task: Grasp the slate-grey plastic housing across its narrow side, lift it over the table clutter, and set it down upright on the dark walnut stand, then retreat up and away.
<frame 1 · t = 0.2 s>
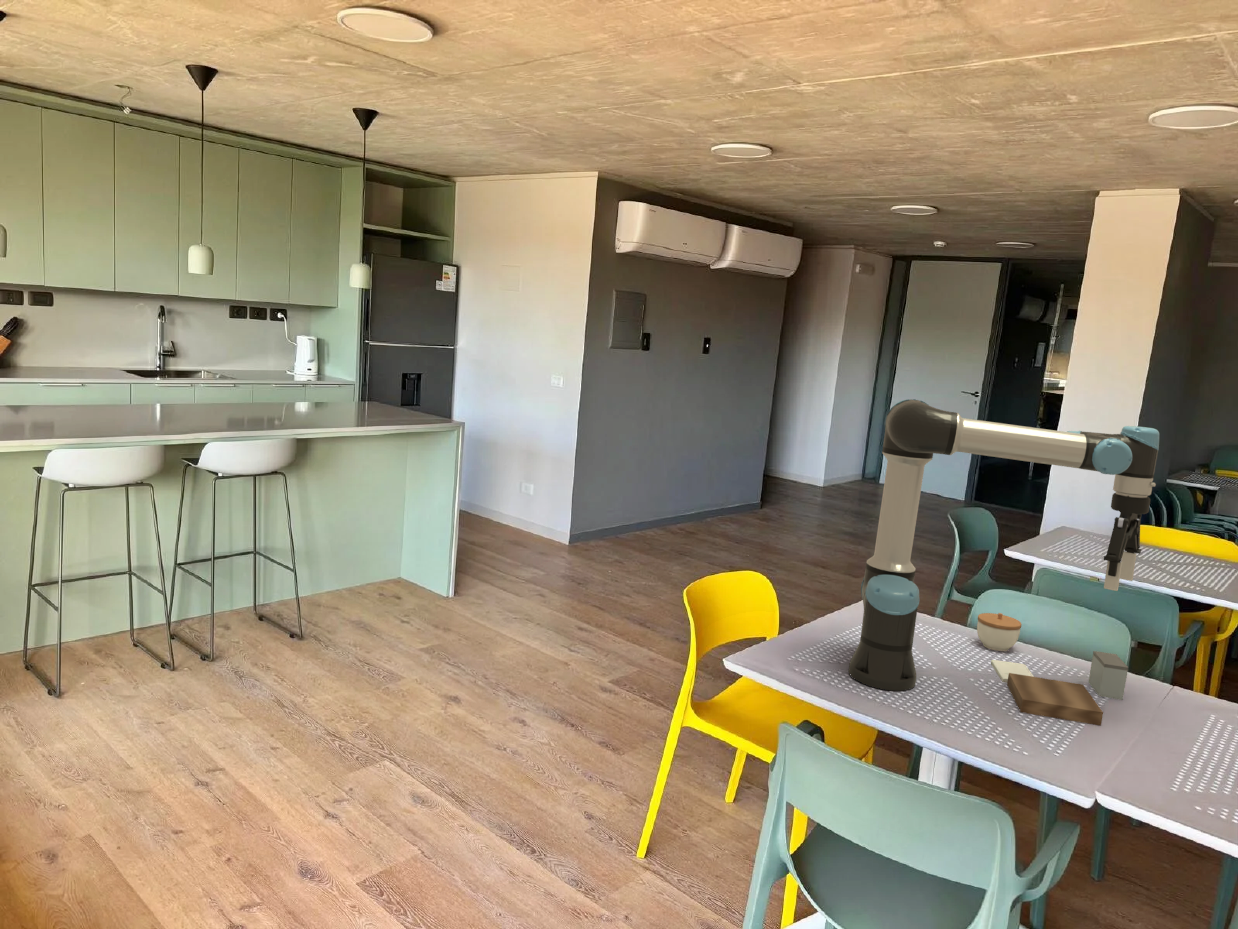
hand: (1118, 584, 198), 26 cm above the table, fingers open, 13 cm apart
external hard drive: (1013, 677, 209), on the table
walnut stand: (1051, 704, 192), on the table
lidded jar: (995, 648, 228), on the table
housing: (1105, 691, 203), on the table
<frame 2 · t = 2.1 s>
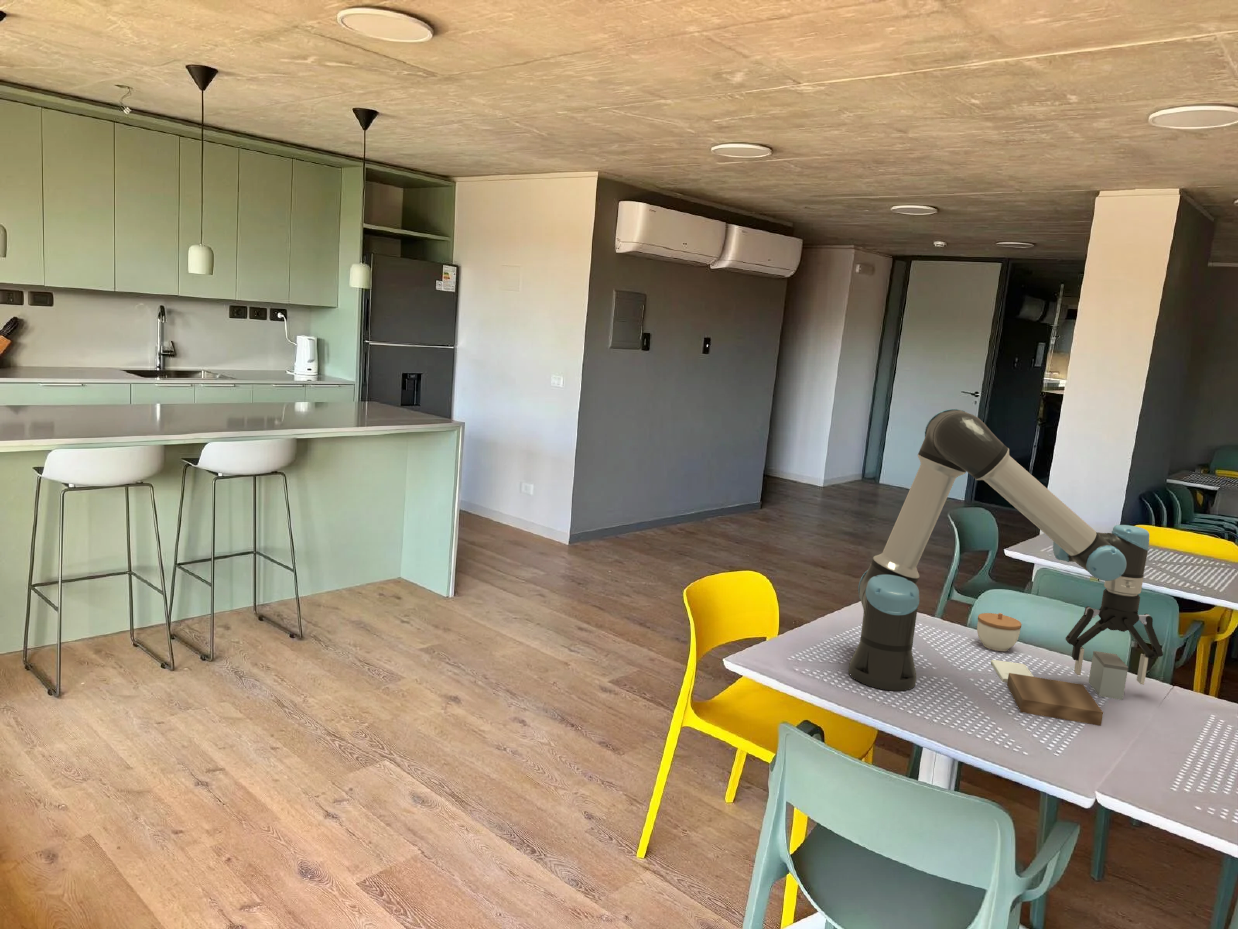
hand: (1108, 678, 203), 3 cm above the table, fingers open, 13 cm apart
nothing on the table moved.
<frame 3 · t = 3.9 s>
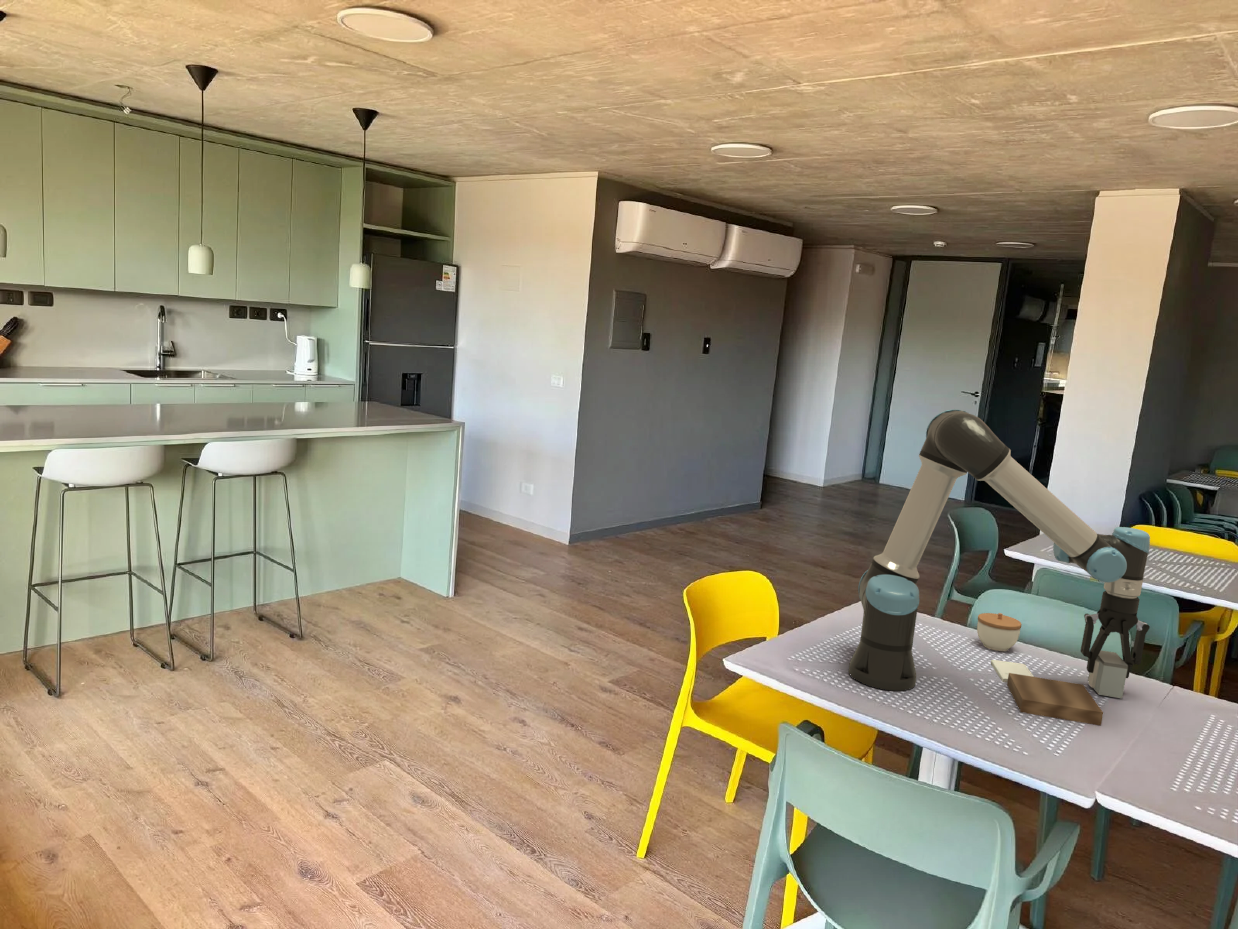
hand: (1104, 687, 203), 1 cm above the table, fingers closed on housing, 5 cm apart
housing: (1104, 689, 203), on the table, touching gripper
everything else where it was.
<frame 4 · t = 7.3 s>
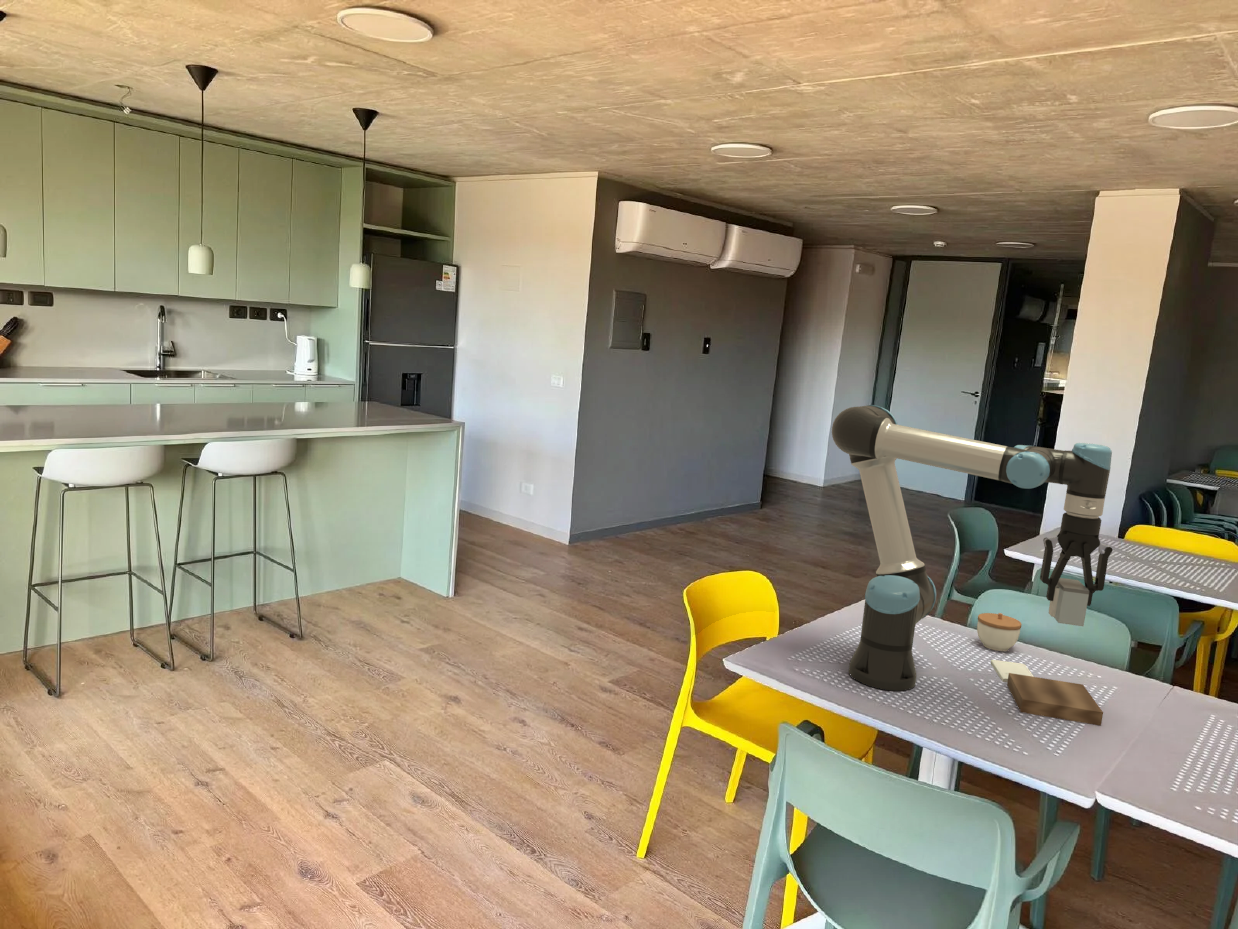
hand: (1065, 616, 189), 21 cm above the table, fingers closed on housing, 5 cm apart
housing: (1065, 618, 189), point 20 cm above the table, touching gripper
everything else where it was.
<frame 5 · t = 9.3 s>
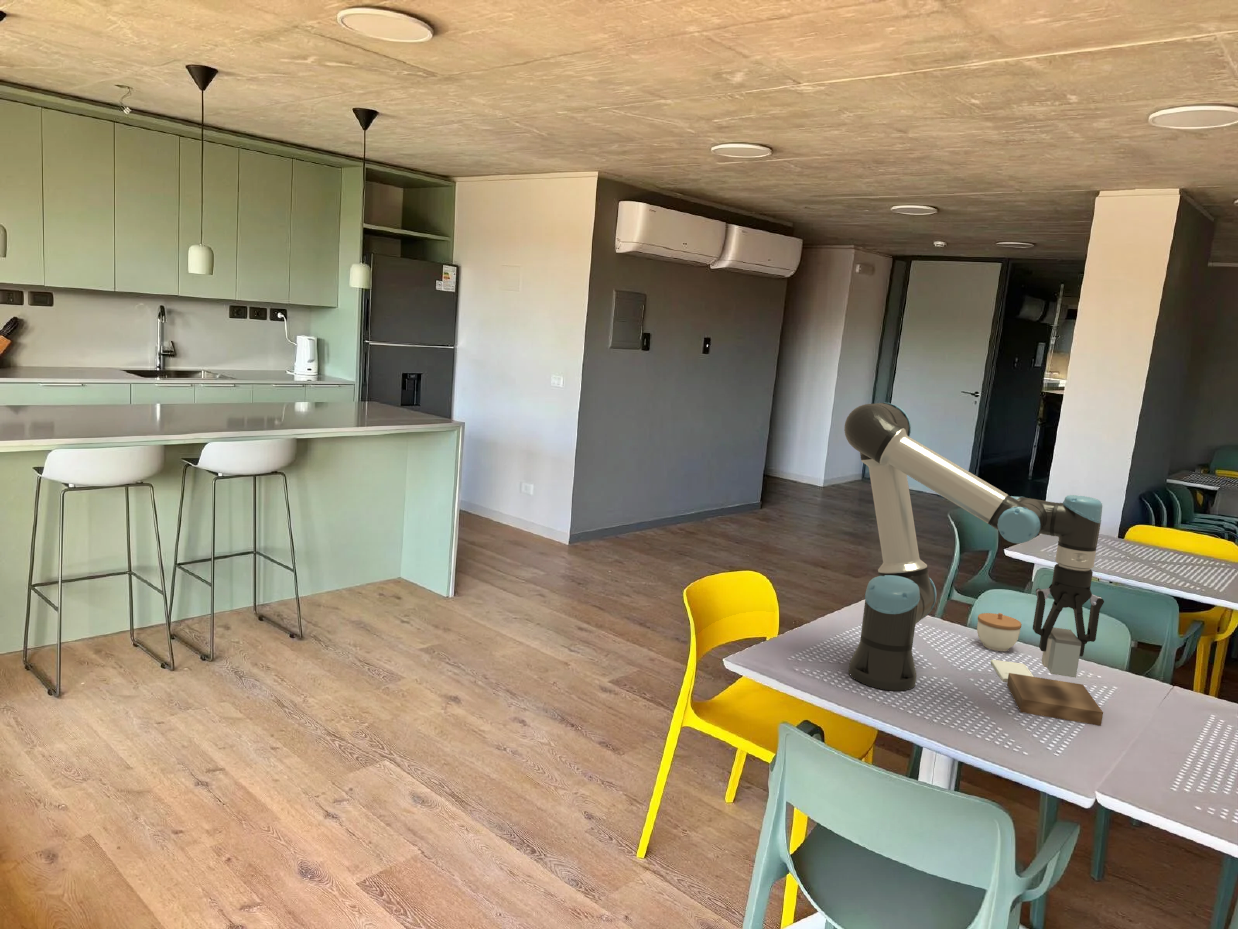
hand: (1058, 666, 191), 9 cm above the table, fingers closed on housing, 5 cm apart
housing: (1058, 668, 191), point 9 cm above the table, touching gripper
everything else where it was.
when the fingers open (4 cm above the table, at t = 10.7 s): housing stays where it is, resting on walnut stand.
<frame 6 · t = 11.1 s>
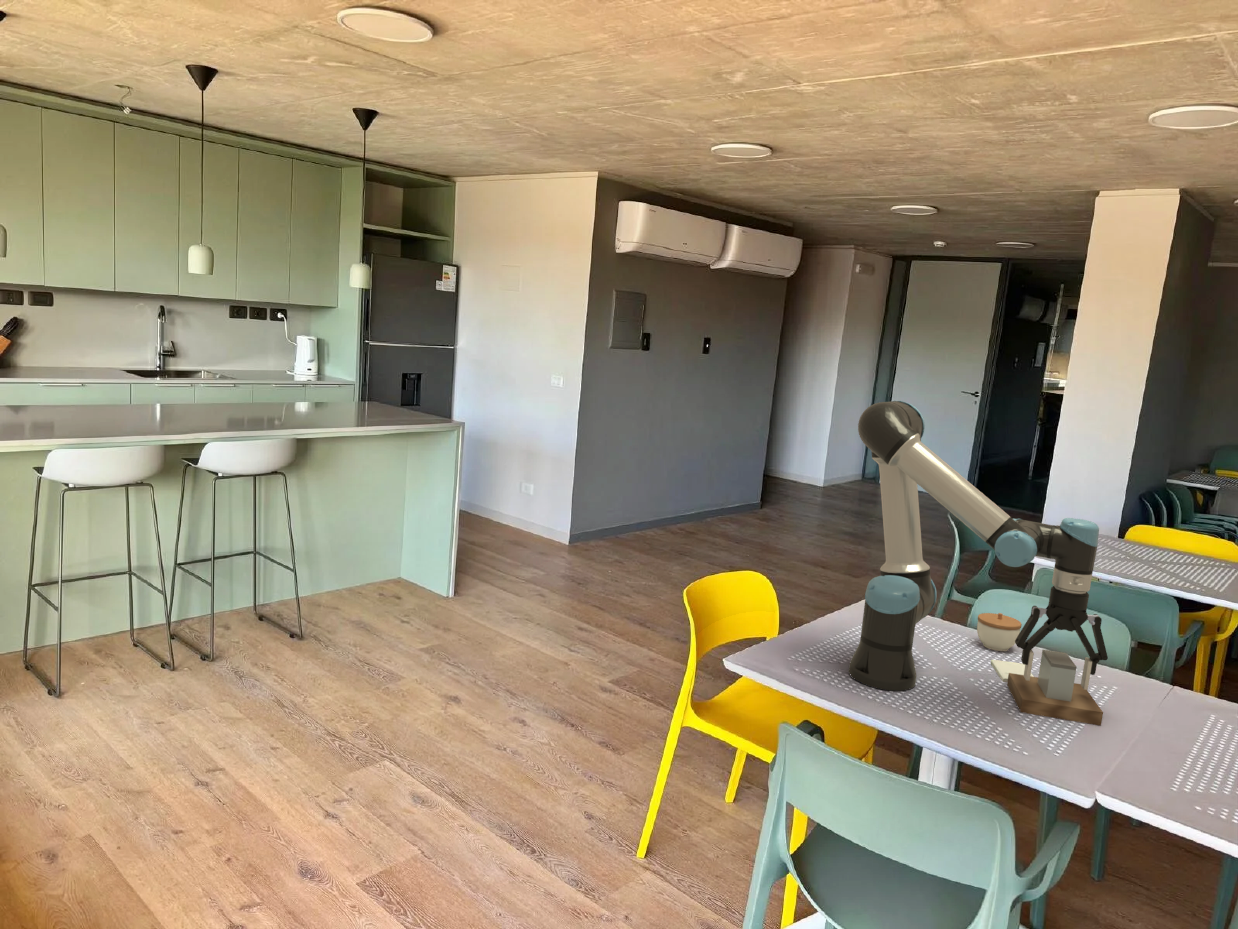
hand: (1055, 683, 192), 5 cm above the table, fingers open, 11 cm apart
housing: (1053, 691, 192), point 3 cm above the table, touching walnut stand
everything else where it was.
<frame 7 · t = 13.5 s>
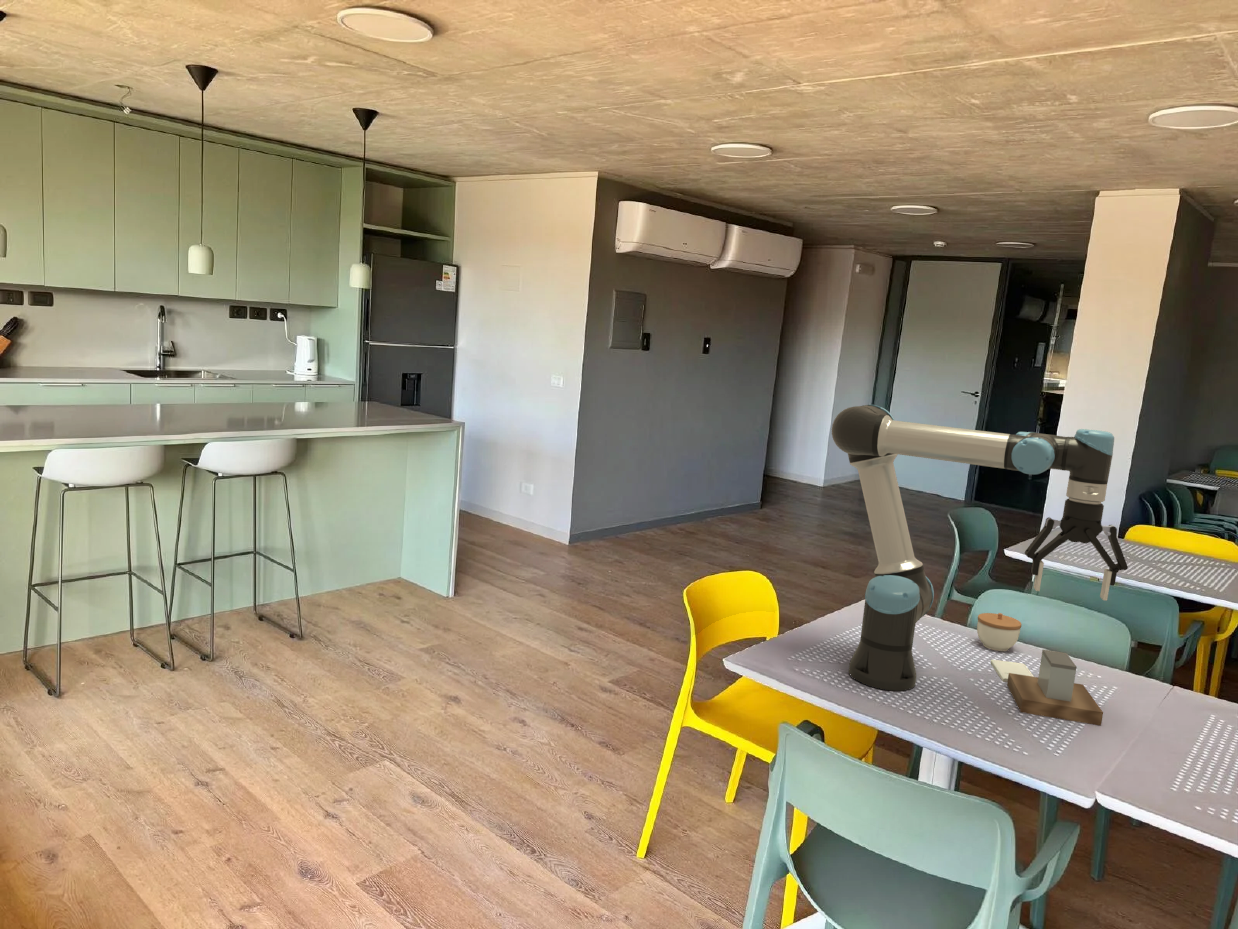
hand: (1069, 594, 190), 25 cm above the table, fingers open, 13 cm apart
nothing on the table moved.
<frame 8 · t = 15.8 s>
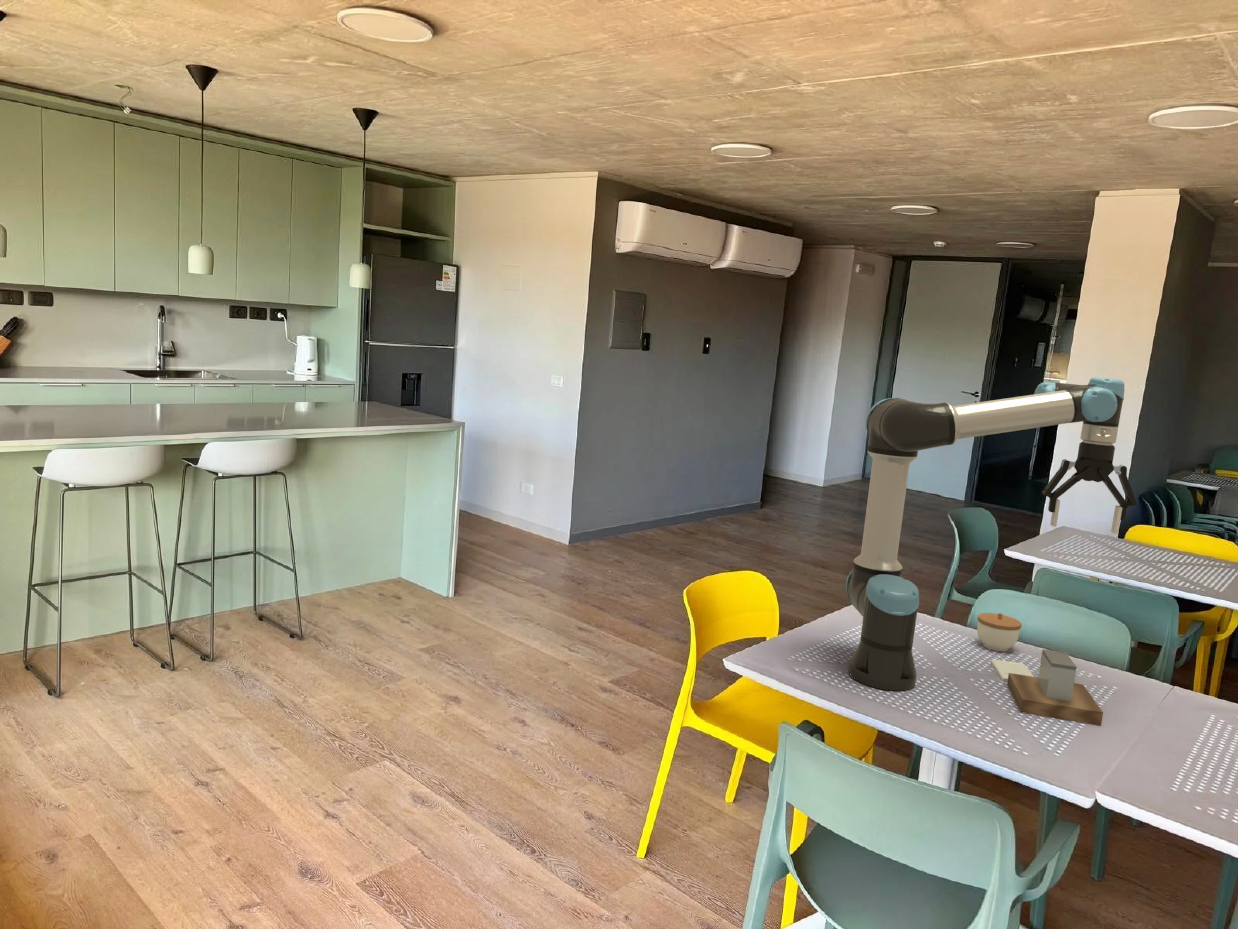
hand: (1083, 529, 207), 37 cm above the table, fingers open, 13 cm apart
nothing on the table moved.
at the end: housing inside the target area on the walnut stand (0.1 cm from its centre), point 3.0 cm above the walnut stand's base; housing tilted 0°; the gripper is holding nothing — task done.
